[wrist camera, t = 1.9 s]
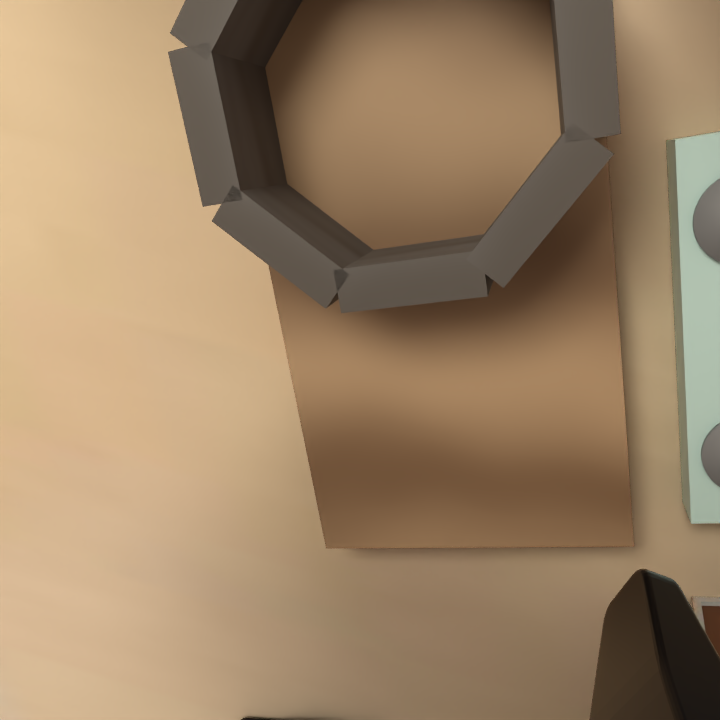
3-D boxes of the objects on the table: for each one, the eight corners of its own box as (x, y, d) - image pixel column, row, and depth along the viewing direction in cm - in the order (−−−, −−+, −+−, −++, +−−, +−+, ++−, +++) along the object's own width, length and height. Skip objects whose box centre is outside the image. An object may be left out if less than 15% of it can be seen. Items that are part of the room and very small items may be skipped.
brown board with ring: (627, 518, 20) (650, 617, 15) (339, 523, 22) (293, 609, 18) (581, -143, 15) (596, -251, 11) (229, -40, 18) (134, -96, 14)
